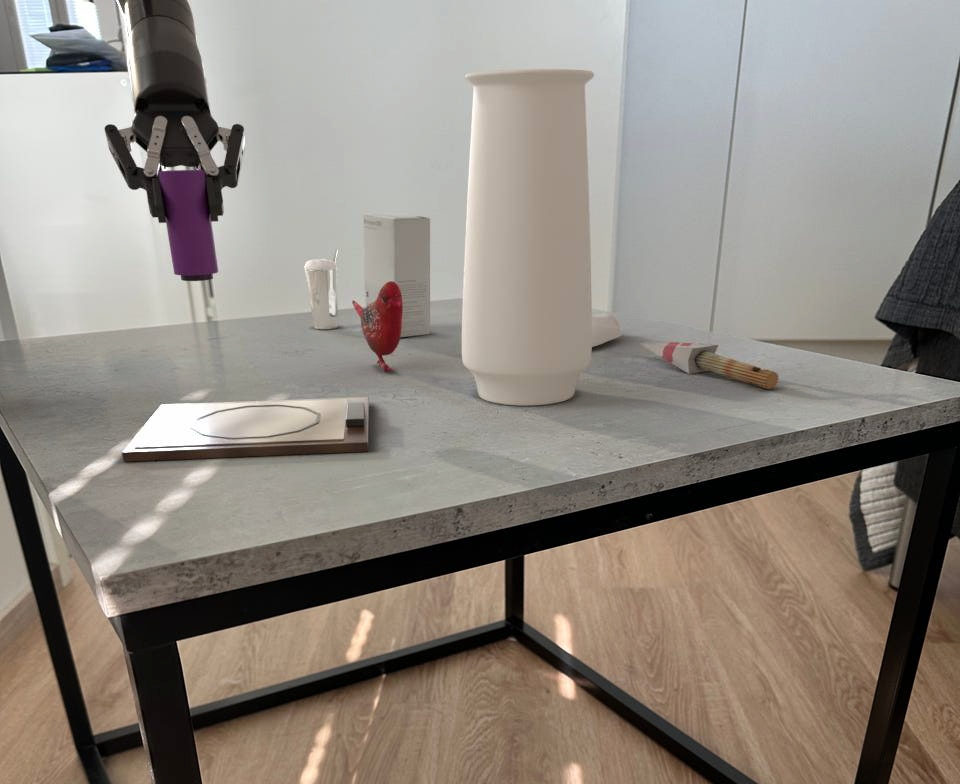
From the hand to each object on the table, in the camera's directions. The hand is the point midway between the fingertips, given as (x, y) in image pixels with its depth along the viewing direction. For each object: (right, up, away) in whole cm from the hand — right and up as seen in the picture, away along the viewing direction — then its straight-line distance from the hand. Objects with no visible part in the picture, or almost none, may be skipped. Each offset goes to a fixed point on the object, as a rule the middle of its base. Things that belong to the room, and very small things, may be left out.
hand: (188, 215), depth 91 cm
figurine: (+38, -3, +30) cm, 48 cm away
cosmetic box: (+18, 0, +36) cm, 40 cm away
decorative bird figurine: (+17, -10, +17) cm, 26 cm away
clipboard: (+9, -23, -7) cm, 25 cm away
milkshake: (+7, +3, +41) cm, 41 cm away
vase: (+33, -17, +4) cm, 38 cm away
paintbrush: (+54, -12, +12) cm, 56 cm away
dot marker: (0, -4, +5) cm, 6 cm away
